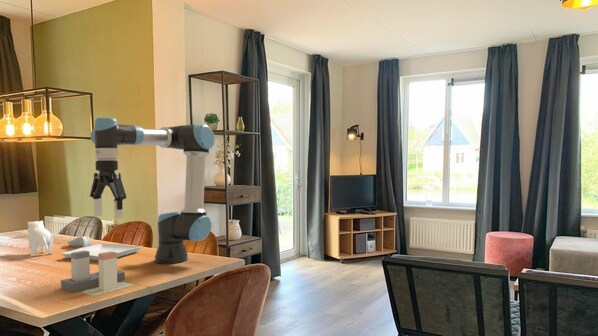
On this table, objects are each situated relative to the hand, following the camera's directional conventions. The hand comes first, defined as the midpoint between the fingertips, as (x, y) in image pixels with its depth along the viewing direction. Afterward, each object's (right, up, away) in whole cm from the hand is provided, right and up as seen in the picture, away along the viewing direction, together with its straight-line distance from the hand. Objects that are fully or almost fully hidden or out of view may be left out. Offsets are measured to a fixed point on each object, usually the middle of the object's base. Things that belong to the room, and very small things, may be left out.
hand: (108, 217), depth 158 cm
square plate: (-29, -27, +59) cm, 71 cm away
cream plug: (+1, -26, -1) cm, 26 cm away
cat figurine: (-63, -27, +63) cm, 93 cm away
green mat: (+1, -27, -1) cm, 27 cm away
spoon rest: (-51, -27, +81) cm, 99 cm away
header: (-7, -27, +5) cm, 28 cm away
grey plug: (-10, -26, +1) cm, 28 cm away
